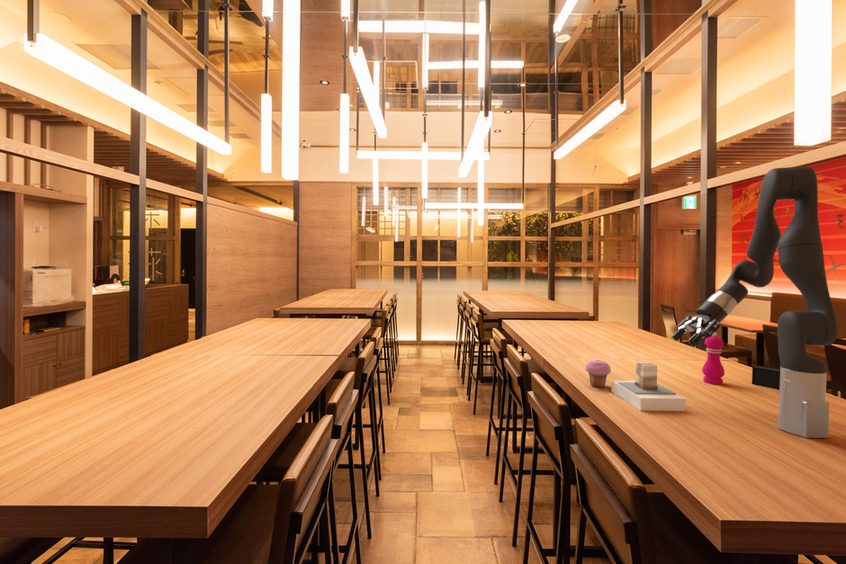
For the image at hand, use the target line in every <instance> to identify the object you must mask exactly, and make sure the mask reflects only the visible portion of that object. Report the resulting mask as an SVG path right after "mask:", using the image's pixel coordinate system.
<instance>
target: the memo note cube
mask: <svg viewBox="0 0 846 564" xmlns="http://www.w3.org/2000/svg"><path fill="white" fill-rule="evenodd" d="M635 368H636V369H635V381H636V382H635V385H636V386H637V387H639V388H641V389H645V390H658V386H657V384H658V365H657V364H654V363H652V362H641V361H639V362H635Z"/></svg>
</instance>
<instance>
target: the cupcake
mask: <svg viewBox="0 0 846 564" xmlns="http://www.w3.org/2000/svg"><path fill="white" fill-rule="evenodd" d="M584 368H585V371H586V372H587V373H588V376H589V383H590V384H589V385H591V386H592V387H596V388H597V387H598V388H606V383H607V376H608V375H609V374H610V373H611V372H612V370H611V369H612V368H611V366H610V364H609V363H607V362H606V361H605V360H600V359H593V360H590V361H588V362H587V363H586V365H585V367H584Z"/></svg>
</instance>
